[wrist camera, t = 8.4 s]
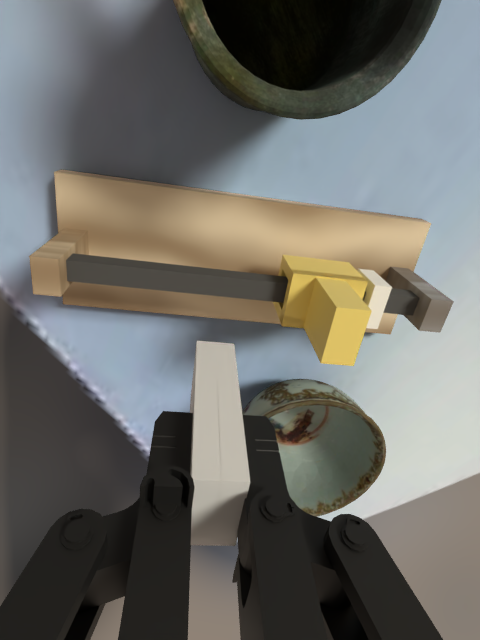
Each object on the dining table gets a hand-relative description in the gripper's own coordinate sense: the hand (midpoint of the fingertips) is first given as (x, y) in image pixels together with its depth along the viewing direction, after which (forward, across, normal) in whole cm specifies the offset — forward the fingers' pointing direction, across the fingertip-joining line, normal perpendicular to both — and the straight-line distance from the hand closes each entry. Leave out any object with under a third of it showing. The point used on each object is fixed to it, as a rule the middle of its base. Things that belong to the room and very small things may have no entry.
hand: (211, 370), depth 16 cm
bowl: (+17, +10, -16) cm, 26 cm away
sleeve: (+13, +8, -1) cm, 15 cm away
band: (+13, +12, -1) cm, 17 cm away
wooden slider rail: (+17, +3, -1) cm, 18 cm away
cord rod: (+12, +3, -1) cm, 12 cm away
